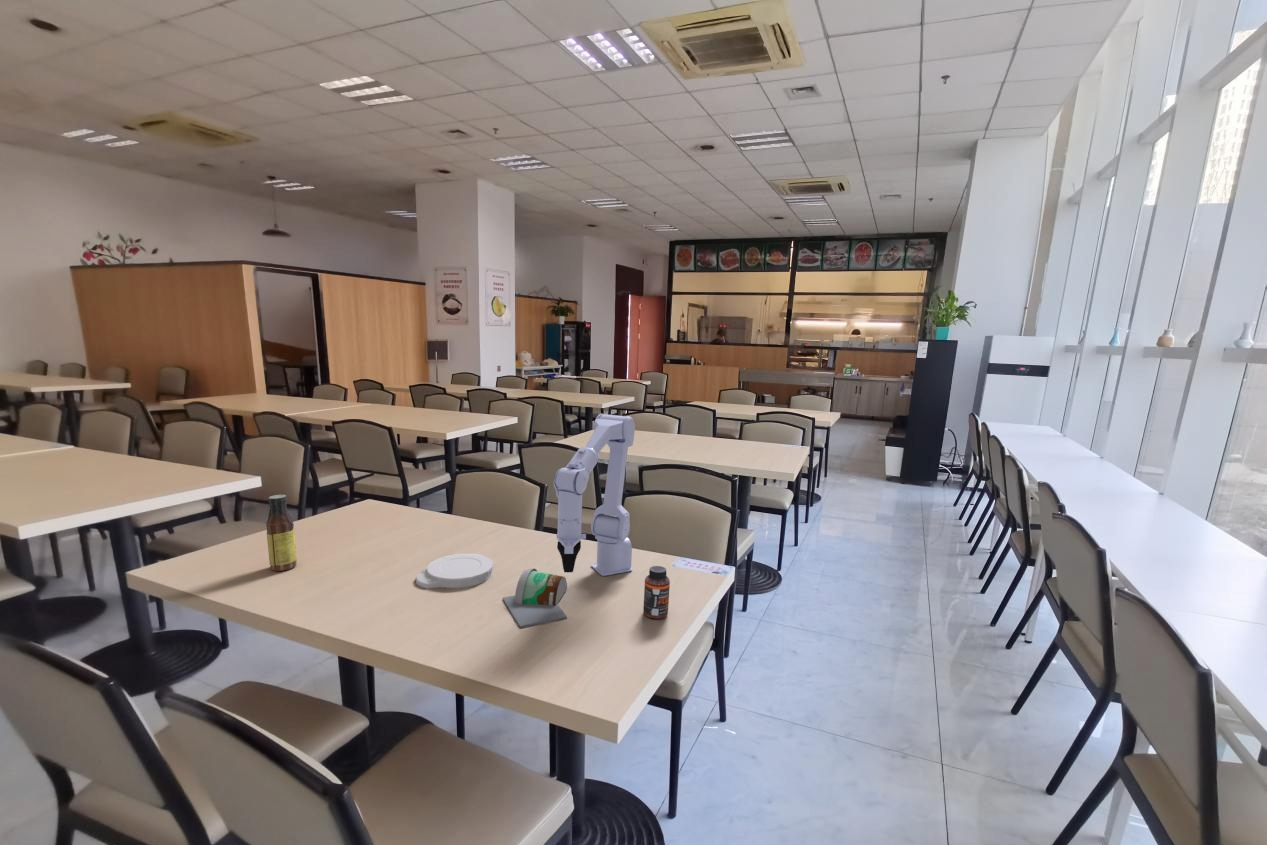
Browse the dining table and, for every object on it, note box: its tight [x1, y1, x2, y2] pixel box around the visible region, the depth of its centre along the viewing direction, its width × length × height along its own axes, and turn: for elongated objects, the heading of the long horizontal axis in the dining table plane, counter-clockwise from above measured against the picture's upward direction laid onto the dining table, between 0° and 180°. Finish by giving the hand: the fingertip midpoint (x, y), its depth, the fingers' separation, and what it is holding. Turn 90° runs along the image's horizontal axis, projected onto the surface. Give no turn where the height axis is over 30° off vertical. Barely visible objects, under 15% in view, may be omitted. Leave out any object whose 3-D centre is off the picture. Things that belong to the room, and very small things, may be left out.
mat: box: [502, 594, 568, 629], centre depth 131 cm, size 11×15×1 cm
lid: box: [415, 552, 494, 590], centre depth 147 cm, size 17×20×3 cm
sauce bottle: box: [265, 494, 298, 572], centre depth 147 cm, size 6×6×20 cm
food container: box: [514, 567, 568, 606], centre depth 136 cm, size 12×6×10 cm
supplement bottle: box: [642, 565, 671, 620], centre depth 130 cm, size 6×6×11 cm
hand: (568, 571), depth 134 cm, fingers closed
